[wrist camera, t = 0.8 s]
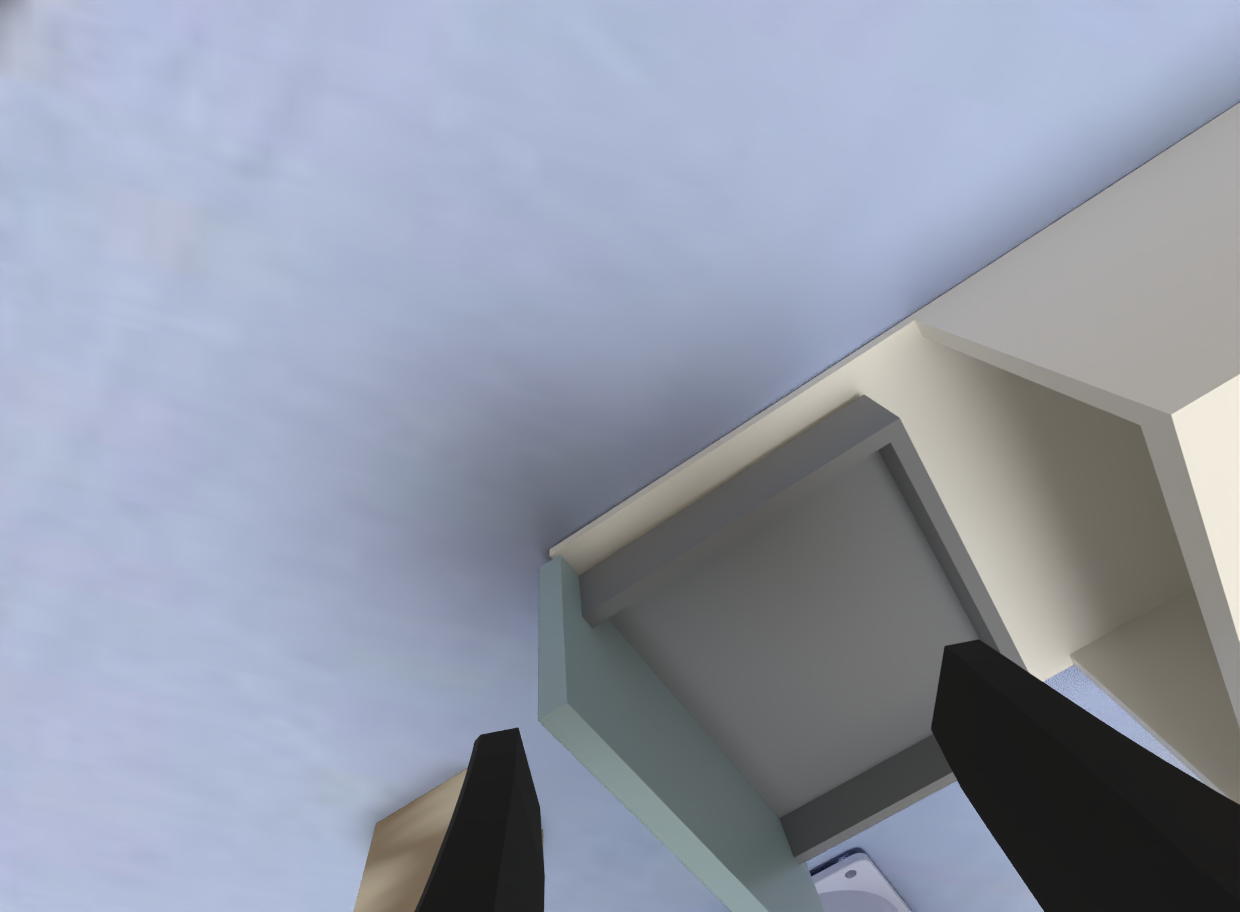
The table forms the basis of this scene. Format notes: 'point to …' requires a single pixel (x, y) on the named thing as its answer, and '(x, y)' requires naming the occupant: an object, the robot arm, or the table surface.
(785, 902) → the teal drawer
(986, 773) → the robot arm
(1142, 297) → the console box
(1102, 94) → the table surface
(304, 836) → the table surface
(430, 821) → the birch block
